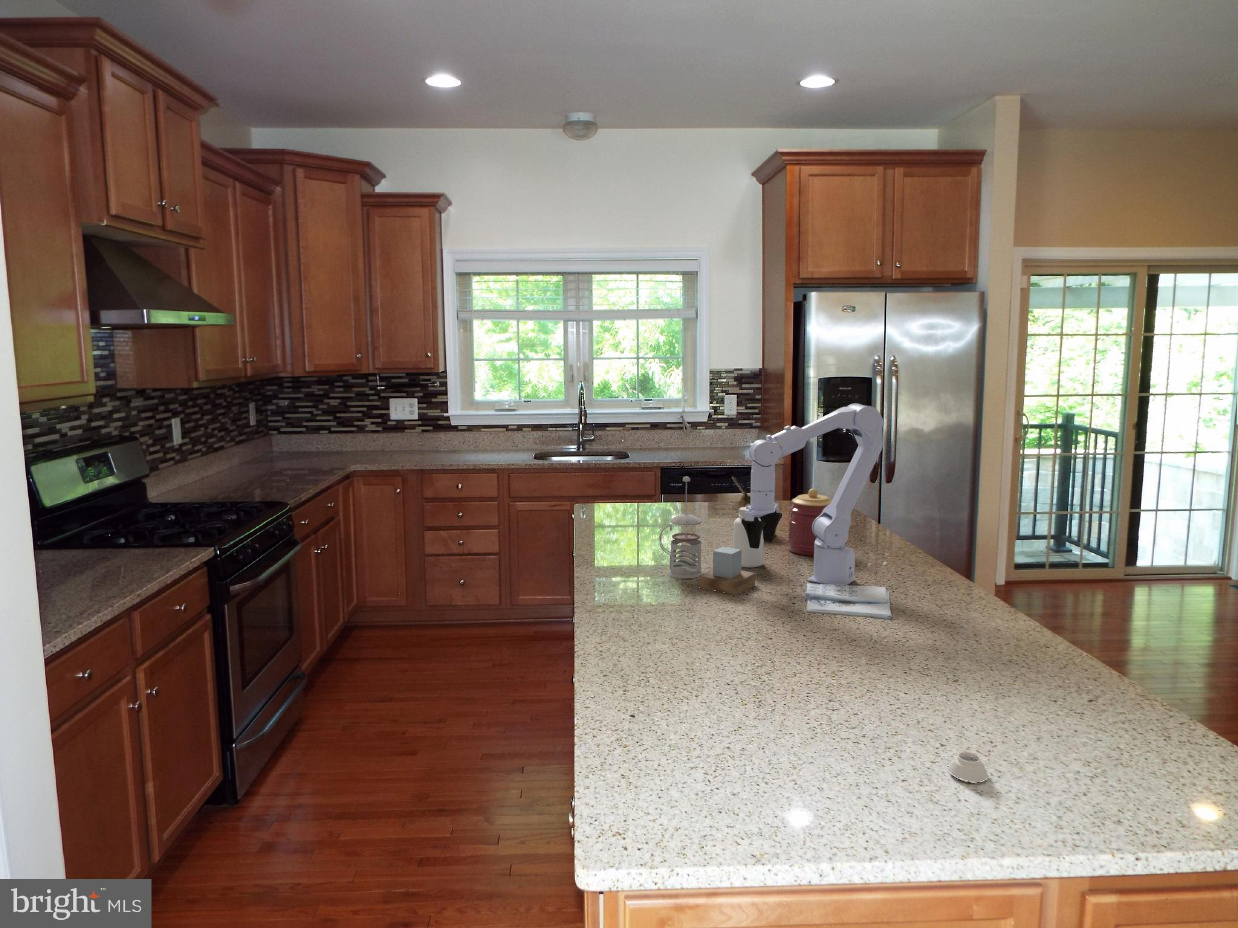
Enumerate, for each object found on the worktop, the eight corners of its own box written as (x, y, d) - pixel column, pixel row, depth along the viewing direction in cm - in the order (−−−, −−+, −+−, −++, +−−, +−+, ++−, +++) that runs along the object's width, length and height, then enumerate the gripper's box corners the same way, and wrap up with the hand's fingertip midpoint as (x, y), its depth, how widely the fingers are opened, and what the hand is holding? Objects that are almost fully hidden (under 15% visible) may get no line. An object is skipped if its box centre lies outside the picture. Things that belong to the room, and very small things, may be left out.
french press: (702, 579, 213) (704, 480, 209) (656, 577, 216) (656, 478, 212) (706, 568, 223) (708, 473, 219) (662, 566, 225) (662, 472, 221)
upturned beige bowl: (954, 764, 123) (943, 778, 119) (956, 744, 122) (945, 758, 118) (991, 774, 120) (981, 790, 116) (993, 755, 119) (983, 769, 115)
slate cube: (741, 573, 208) (741, 549, 207) (731, 578, 203) (731, 553, 203) (722, 570, 210) (723, 546, 209) (712, 575, 206) (713, 550, 205)
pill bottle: (762, 560, 231) (763, 505, 228) (764, 568, 223) (765, 512, 220) (732, 559, 231) (733, 505, 229) (733, 567, 224) (734, 511, 221)
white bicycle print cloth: (889, 594, 203) (889, 585, 202) (892, 622, 183) (892, 612, 183) (806, 588, 208) (806, 579, 207) (800, 615, 188) (801, 605, 188)
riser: (755, 584, 208) (755, 573, 208) (735, 595, 200) (735, 582, 200) (718, 578, 214) (718, 566, 214) (698, 588, 206) (698, 575, 206)
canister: (831, 545, 247) (833, 484, 244) (838, 557, 234) (840, 493, 231) (785, 544, 248) (787, 484, 245) (789, 556, 235) (791, 492, 233)
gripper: (760, 483, 216) (759, 536, 218) (733, 492, 204) (732, 548, 206) (787, 486, 212) (785, 540, 214) (760, 495, 200) (759, 552, 202)
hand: (761, 544), depth 209 cm, fingers open, 7 cm apart
